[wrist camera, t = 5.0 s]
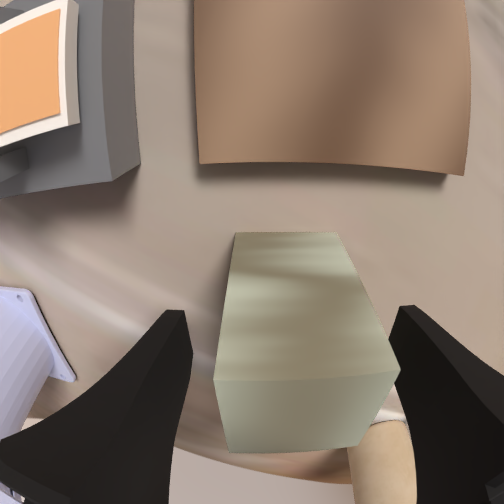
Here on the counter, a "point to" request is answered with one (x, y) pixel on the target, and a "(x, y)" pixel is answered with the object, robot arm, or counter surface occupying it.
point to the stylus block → (298, 347)
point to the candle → (384, 466)
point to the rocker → (38, 71)
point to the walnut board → (333, 82)
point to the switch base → (83, 108)
